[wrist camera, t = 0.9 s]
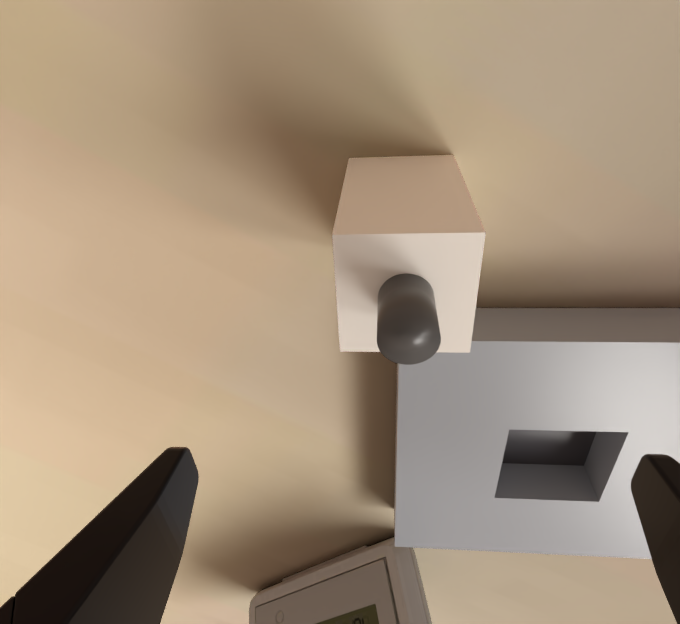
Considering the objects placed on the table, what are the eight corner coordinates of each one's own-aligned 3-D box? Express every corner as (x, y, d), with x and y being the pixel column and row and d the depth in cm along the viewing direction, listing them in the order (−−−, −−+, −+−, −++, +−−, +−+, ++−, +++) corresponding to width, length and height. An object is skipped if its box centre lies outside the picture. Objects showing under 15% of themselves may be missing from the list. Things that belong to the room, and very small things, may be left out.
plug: (453, 154, 18) (501, 270, 11) (446, 249, 20) (481, 399, 13) (348, 157, 18) (324, 271, 11) (352, 250, 21) (334, 396, 13)
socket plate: (768, 307, 20) (810, 343, 18) (651, 520, 29) (671, 560, 27) (397, 307, 22) (399, 340, 20) (394, 509, 31) (394, 546, 29)
